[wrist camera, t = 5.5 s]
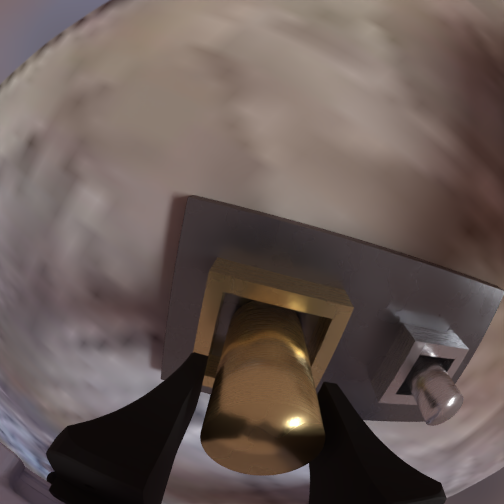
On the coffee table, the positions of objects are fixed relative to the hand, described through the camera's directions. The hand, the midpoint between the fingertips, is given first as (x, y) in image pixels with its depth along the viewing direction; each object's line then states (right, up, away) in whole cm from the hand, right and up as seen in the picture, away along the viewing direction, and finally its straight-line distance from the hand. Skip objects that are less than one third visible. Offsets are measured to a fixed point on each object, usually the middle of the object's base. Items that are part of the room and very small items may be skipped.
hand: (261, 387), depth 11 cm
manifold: (+5, 0, +5) cm, 8 cm away
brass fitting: (0, +1, +4) cm, 5 cm away
